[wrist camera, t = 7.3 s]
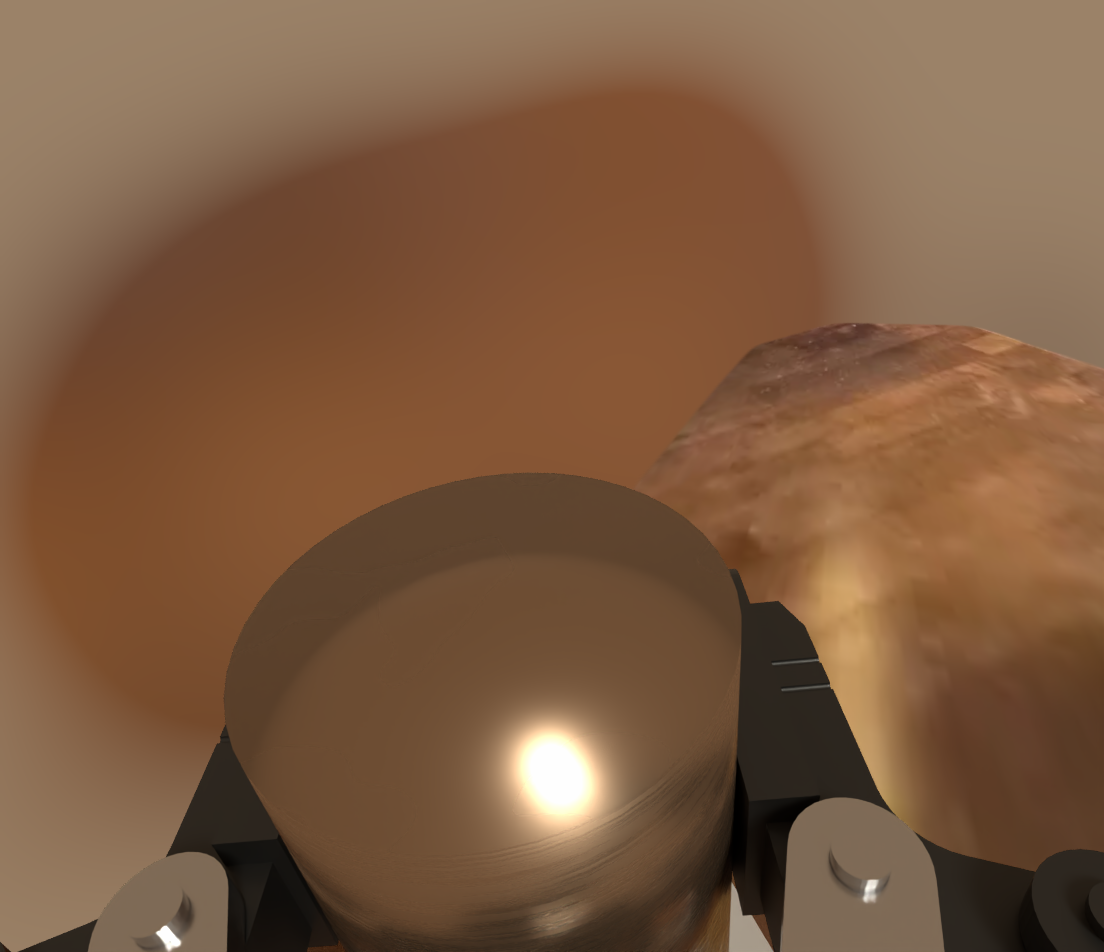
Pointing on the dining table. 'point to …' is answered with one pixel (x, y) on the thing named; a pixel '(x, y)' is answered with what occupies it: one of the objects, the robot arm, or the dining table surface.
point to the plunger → (502, 721)
